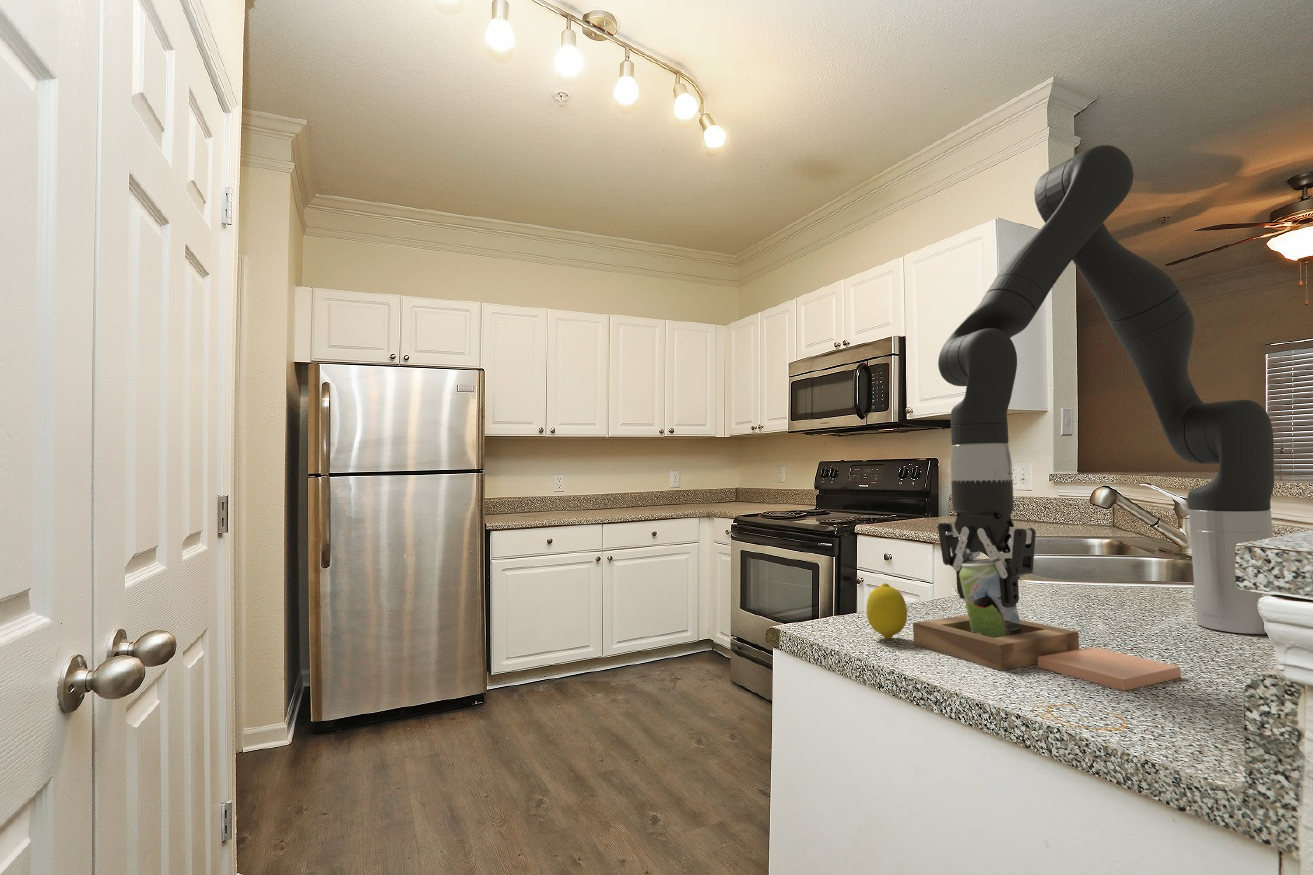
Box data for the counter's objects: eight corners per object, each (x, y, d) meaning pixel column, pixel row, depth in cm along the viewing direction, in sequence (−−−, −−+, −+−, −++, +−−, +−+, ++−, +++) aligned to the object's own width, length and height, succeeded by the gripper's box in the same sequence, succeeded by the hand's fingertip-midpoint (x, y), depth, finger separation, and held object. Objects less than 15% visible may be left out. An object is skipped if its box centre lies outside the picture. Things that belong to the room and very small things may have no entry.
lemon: (893, 646, 91) (890, 587, 91) (859, 638, 95) (857, 583, 96) (916, 639, 94) (913, 583, 95) (882, 632, 99) (880, 579, 99)
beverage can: (1031, 657, 84) (1026, 562, 85) (970, 655, 85) (965, 562, 86) (1015, 644, 90) (1010, 556, 91) (958, 642, 92) (953, 556, 92)
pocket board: (986, 632, 97) (985, 612, 97) (1079, 655, 84) (1078, 631, 84) (914, 644, 92) (912, 622, 92) (1001, 670, 79) (999, 645, 79)
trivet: (1092, 656, 84) (1092, 646, 84) (1180, 677, 74) (1180, 666, 74) (1038, 666, 80) (1037, 656, 80) (1123, 690, 70) (1123, 679, 71)
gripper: (1049, 477, 84) (1056, 609, 83) (958, 477, 98) (963, 591, 97) (1007, 478, 81) (1014, 615, 81) (920, 478, 95) (925, 596, 94)
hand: (986, 601), depth 89 cm, fingers closed on beverage can, 6 cm apart
